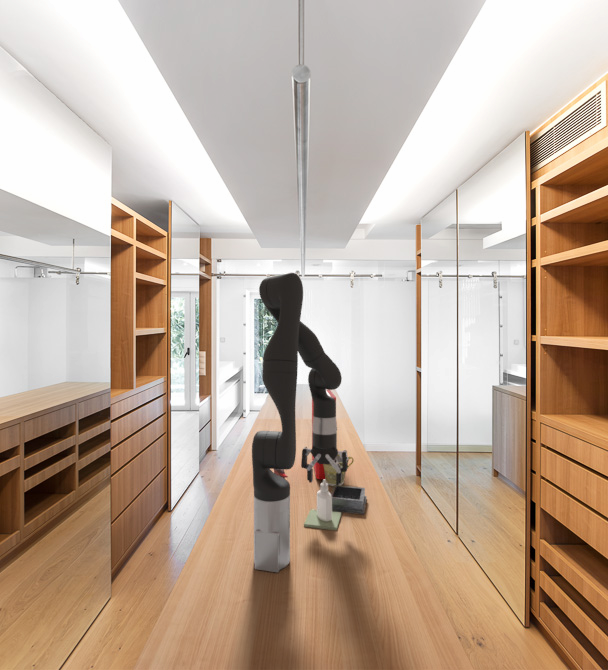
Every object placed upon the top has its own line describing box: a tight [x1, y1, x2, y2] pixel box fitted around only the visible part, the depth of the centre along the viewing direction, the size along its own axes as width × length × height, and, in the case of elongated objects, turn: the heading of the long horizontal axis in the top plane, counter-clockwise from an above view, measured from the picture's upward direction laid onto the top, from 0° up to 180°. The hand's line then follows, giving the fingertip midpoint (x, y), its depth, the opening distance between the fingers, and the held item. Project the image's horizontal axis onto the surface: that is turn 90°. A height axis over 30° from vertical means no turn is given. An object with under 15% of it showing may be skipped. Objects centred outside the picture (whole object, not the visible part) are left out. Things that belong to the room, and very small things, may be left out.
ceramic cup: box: [323, 455, 355, 487], centre depth 152 cm, size 13×10×10 cm
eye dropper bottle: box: [316, 479, 332, 522], centre depth 122 cm, size 4×6×12 cm
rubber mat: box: [303, 508, 342, 531], centre depth 122 cm, size 10×10×1 cm
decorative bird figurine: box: [273, 469, 289, 479], centre depth 150 cm, size 3×18×10 cm, turn 21°
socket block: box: [330, 485, 368, 515], centre depth 133 cm, size 12×12×4 cm
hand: (324, 483), depth 121 cm, fingers open, 8 cm apart
